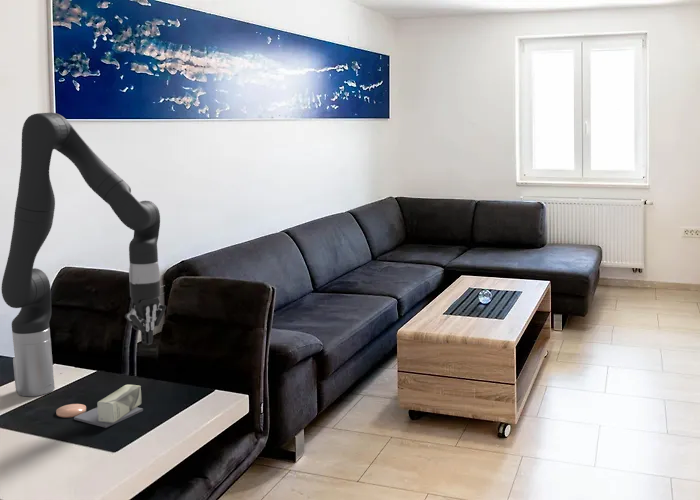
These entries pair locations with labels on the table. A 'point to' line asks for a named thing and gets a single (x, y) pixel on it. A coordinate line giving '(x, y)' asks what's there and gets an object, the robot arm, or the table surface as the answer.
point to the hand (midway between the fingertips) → (147, 344)
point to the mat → (92, 418)
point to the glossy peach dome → (71, 410)
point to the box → (119, 403)
